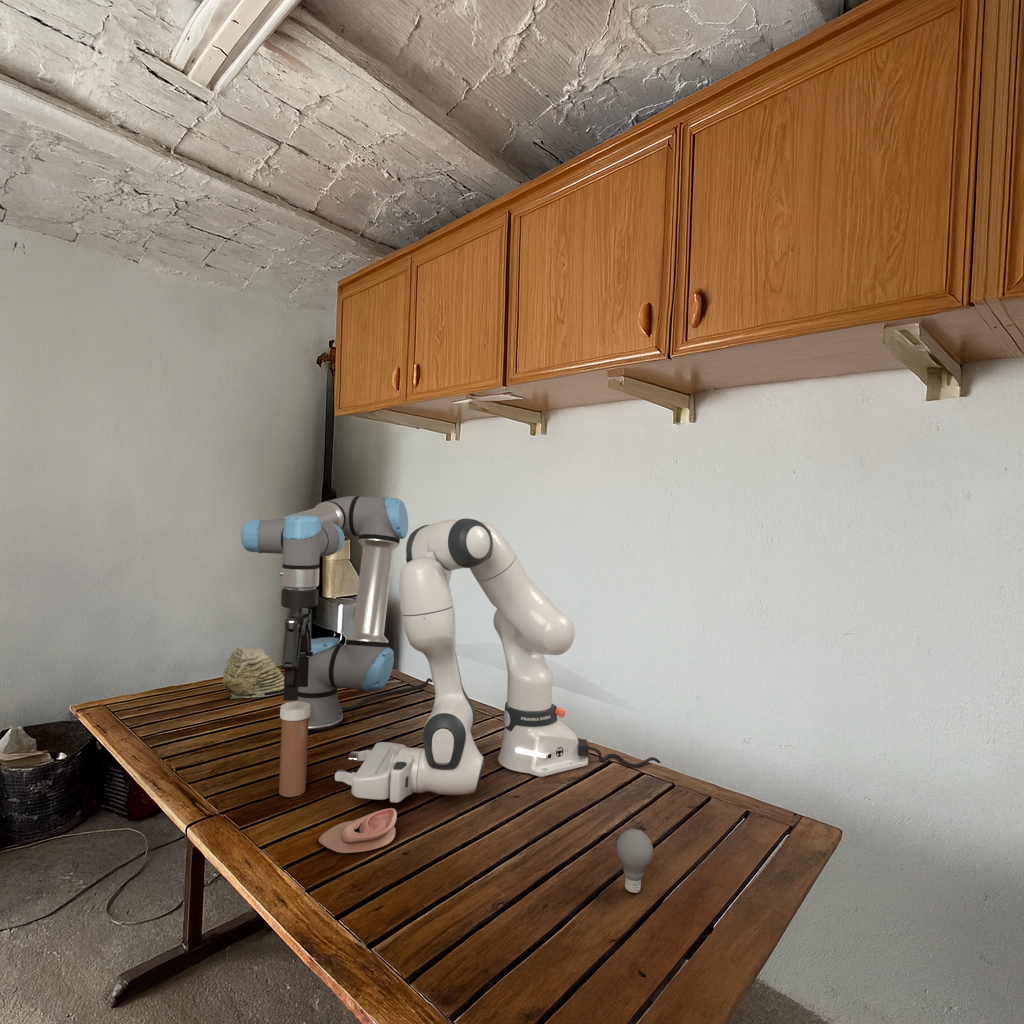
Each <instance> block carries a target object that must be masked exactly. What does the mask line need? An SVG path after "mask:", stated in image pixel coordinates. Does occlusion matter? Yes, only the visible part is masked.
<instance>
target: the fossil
mask: <svg viewBox="0 0 1024 1024" xmlns="http://www.w3.org/2000/svg"><path fill="white" fill-rule="evenodd" d="M222 676H223V677H222V685H223V687H224V688H225V690H226V691H228V693H229V698H230V699H250V698H264V697H271V696H275V695H281V694H284V674H283V673H282V672H281V669H279V668H278V667H277V665H276V663H275V662H274V660H273V659H272V658H271V657H270V656H269V655H268V654H267V653H266V652H265V650H264V649H263V648H260V647H258V648H251V647H247V646H246V647H245V646H238V647H237V648H236V649H235V650H233V651H232V653H231V656H230V657H229V659H228V660H227V663H226V666H225V668H224V671H223V675H222Z"/></svg>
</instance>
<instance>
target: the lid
mask: <svg viewBox="0 0 1024 1024" xmlns="http://www.w3.org/2000/svg"><path fill="white" fill-rule="evenodd" d="M310 710H311V707H310V704H309V703H307V702H302V701H295V702H292V701H289V702H284V703H283V704H281V705H280V709H279V718H280V719H283V720H286V721H299V720H304V719H306V718H308V717H309V716H310Z"/></svg>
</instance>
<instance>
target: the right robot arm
mask: <svg viewBox="0 0 1024 1024" xmlns="http://www.w3.org/2000/svg"><path fill="white" fill-rule="evenodd" d="M405 554H406V556H405V561H406V563H405V564H403V566H402V568H401V569H400V571H399V582H398V583H399V590H398V591H399V604H400V605H399V606H400V613H401V619H402V625H403V629H404V632H405V635H406V638H407V641H408V643H409V645H410V646H411V647H412V649H415V650H416V651H418V652H419V653H422V654H423V655H424V657H425V658H426V659H427V662H428V665H429V669H430V675H431V679H432V681H433V682H432V684H433V690H434V702H433V706H432V709H431V711H430V714H429V716H428V717H427V719H426V721H425V724H424V726H423V728H422V729H423V730H422V741H423V742H422V743H423V748H422V747H421V748H419V747H407V746H406V745H405V744H402V743H396V742H387V741H380V742H376V743H375V744H374V746H373V748H372V749H365V750H361V751H351V752H350V753H349V755H348V762H349V763H357V762H362V764H361V765H360V767H359V768H358V770H357V771H356V772H355V771H351V772H348V771H347V770H346V769H338V770H337V771H336V772H335V773H334V780H335V782H343V783H344V784H346V785H348V786H351V795H352V796H354V797H355V798H359V799H364V800H373V801H374V800H375V801H383V800H388V799H389V802H390V803H395V804H396V803H400V802H401V801H403V800H404V799H405V798H407V797H409V796H410V795H412V794H424V793H434V794H437V795H440V796H464V795H470V794H474V793H475V792H476V791H477V790H478V789H479V787H480V785H481V781H482V775H483V771H484V767H485V757H484V756H483V755H482V754H481V751H479V749H478V747H477V745H476V743H475V741H474V738H473V734H472V730H473V728H474V726H475V723H476V717H477V715H476V709H475V706H474V704H473V702H472V701H471V699H470V698H469V696H468V695H467V693H466V691H465V688H464V686H463V684H462V677H461V672H460V667H459V663H458V657H457V651H456V649H457V648H456V646H457V645H456V637H457V636H456V635H457V634H456V633H457V631H456V629H457V628H456V627H457V626H456V625H457V624H456V614H455V606H454V600H453V595H452V590H451V587H450V580H451V577H452V573H453V571H455V570H461V569H469V570H470V572H471V573H472V575H473V577H474V578H475V580H476V582H477V583H478V585H479V586H480V588H481V589H482V591H483V592H484V594H485V596H486V597H487V599H488V601H489V602H490V604H491V605H492V606H493V607H495V608H496V610H495V611H494V615H493V618H492V619H493V620H492V621H493V628H494V629H495V632H496V633H497V635H498V636H499V639H500V642H501V645H502V649H503V654H504V658H505V664H506V671H507V691H506V701H505V704H504V711H503V712H504V713H503V726H504V731H503V737H502V743H501V746H500V750H499V754H498V756H497V762H498V763H499V764H500V765H501V767H503V768H505V769H508V770H509V771H510V770H511V771H513V772H516V773H517V772H518V773H524V774H530V775H532V776H535V777H540V778H543V777H547V776H550V775H556V774H559V773H563V772H567V771H570V770H571V771H572V770H575V769H578V768H579V769H580V768H582V767H586V766H589V752H590V751H594V752H595V753H597V755H598V759H599V761H600V762H602V763H604V762H606V761H607V760H608V759H609V758H611V757H612V758H616V759H618V760H619V761H620V762H622V764H624V765H625V766H627V767H631V768H638V767H641V766H644V765H645V764H648V763H649V762H651V761H654V762H656V763H657V764H661V761H660V759H658V758H657V757H654V756H651V757H648V758H646V759H645V760H643V761H641V762H638V763H631V762H628V761H626V760H625V759H624V758H623V757H622V756H621V755H618V754H616V753H608V754H606V755H605V756H604V757H603V755H602V752H601V751H600V749H598V748H597V747H593V746H590V745H589V742H588V740H587V738H585V739H584V738H578V737H577V734H576V733H575V732H574V731H573V730H572V729H571V728H569V727H568V726H567V725H566V724H564V722H562V721H561V720H560V719H559V718H561V719H562V718H564V717H565V716H566V710H565V709H564V708H563V707H558V706H557V705H555V704H553V703H552V700H553V678H554V675H553V673H552V669H551V668H550V666H549V664H548V663H547V660H546V658H545V655H546V656H559V655H560V656H561V655H563V654H565V653H566V652H567V651H568V650H569V649H570V648H571V647H572V645H573V643H574V641H575V636H576V628H575V625H574V622H573V621H572V619H571V618H570V617H569V616H567V615H566V614H565V613H563V612H562V611H561V610H560V609H559V608H558V607H557V606H556V605H555V604H554V603H553V602H552V601H551V599H549V597H548V596H546V594H545V593H544V592H543V591H542V590H541V589H540V588H539V587H538V585H536V583H534V581H533V579H532V578H531V577H530V575H529V574H528V573H527V570H526V569H525V567H524V566H523V564H522V563H521V561H520V559H519V557H518V556H517V554H516V552H515V551H514V550H513V548H512V546H511V545H510V543H509V542H508V541H507V540H506V538H505V537H504V535H503V534H502V533H501V532H500V531H499V530H498V529H497V528H496V527H495V526H494V525H493V524H491V523H489V522H481V521H479V520H477V519H474V518H460V519H447V520H446V519H445V520H441V521H438V522H435V523H432V524H424V525H422V526H419V527H417V528H416V529H414V530H413V531H412V532H411V533H410V535H409V536H408V538H407V541H406V546H405Z"/></svg>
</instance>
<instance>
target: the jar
mask: <svg viewBox="0 0 1024 1024" xmlns="http://www.w3.org/2000/svg"><path fill="white" fill-rule="evenodd" d="M280 719H281V718H280ZM308 723H309V717H308V718H306V719H304V720H299V721H286V720H283V719H281V720H280V747H279V749H280V750H279V771H278V773H279V775H278V776H279V777H278V778H279V779H278V794H279V795H280V796H282V797H285V798H295V797H298V796H301V795H303V794H305V793H306V791H307V776H308V775H307V773H308V771H307V770H308V747H309V746H308V745H309V732H308Z"/></svg>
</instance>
